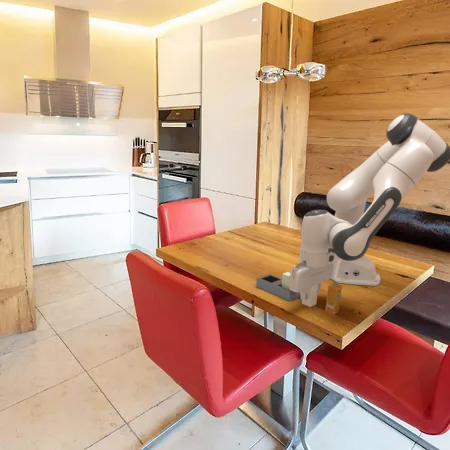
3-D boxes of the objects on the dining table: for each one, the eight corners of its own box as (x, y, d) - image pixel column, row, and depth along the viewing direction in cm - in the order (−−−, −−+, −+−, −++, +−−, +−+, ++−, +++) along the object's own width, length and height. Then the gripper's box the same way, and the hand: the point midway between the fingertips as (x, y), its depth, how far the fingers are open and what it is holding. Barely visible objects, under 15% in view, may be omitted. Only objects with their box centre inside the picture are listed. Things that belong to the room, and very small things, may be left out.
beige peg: (293, 295, 136) (294, 274, 134) (287, 297, 134) (288, 276, 132) (286, 292, 138) (287, 271, 136) (281, 294, 137) (282, 273, 135)
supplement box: (334, 316, 122) (336, 287, 120) (324, 312, 125) (327, 284, 122) (339, 313, 124) (342, 285, 122) (330, 309, 127) (332, 281, 124)
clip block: (316, 305, 130) (318, 283, 128) (310, 308, 128) (311, 286, 126) (307, 301, 132) (309, 280, 130) (301, 304, 130) (303, 283, 128)
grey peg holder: (301, 297, 136) (302, 286, 135) (289, 302, 131) (290, 292, 130) (268, 283, 147) (269, 273, 146) (256, 288, 143) (256, 278, 142)
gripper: (301, 268, 117) (298, 309, 120) (338, 254, 130) (334, 291, 133) (285, 262, 121) (282, 302, 125) (322, 250, 134) (319, 286, 138)
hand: (309, 296), depth 129 cm, fingers open, 5 cm apart
